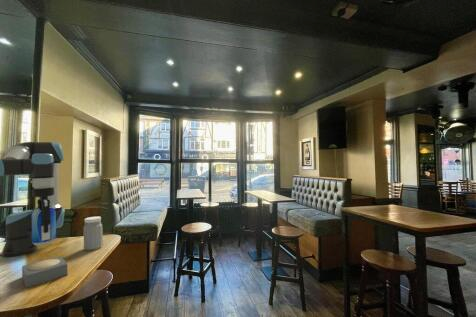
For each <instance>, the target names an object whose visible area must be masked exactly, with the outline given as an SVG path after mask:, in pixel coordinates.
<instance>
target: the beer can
mask: <svg viewBox="0 0 476 317" xmlns="http://www.w3.org/2000/svg"><path fill="white" fill-rule="evenodd" d="M31 220H32V243H33V244H34V245H38V246H44V245H48V244H52V243H54V241H55V240H56V238H57V228H56V211H55V210H54V208H53V206H50V222H51V223H50V239H48V240H43V241H42V231H41V226H40V224H42V213H41V210H40V209H39V208H38V207H35V208H33V212H32V214H31ZM45 222H47V221H45Z"/></svg>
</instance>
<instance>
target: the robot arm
mask: <svg viewBox="0 0 476 317" xmlns="http://www.w3.org/2000/svg"><path fill="white" fill-rule="evenodd" d="M63 161H65V159H64V154H63V148H62V144H61V143H60V142H51V141H50V142H49V141H48V142H47V141H45V142H44V141H43V142H42V141H26V142H20V143H17V144H14V145H12V146H10V147H9V148H8V149H7V150H6V152H5V155H4V156H3V157H2V158H0V177H4V176H26V175H27V176H28V175H31V176H32V179H31V181H30V183H31V184H32V190H31V194H32V197H33V198H39V199H37V208H39V209H40V210H41V213H42V224H40V226H41V231H42V241H43V240H48V239H50V223H51V222H50V206H53V208H54V210H55V211H56V229H60V228H61V227H62V226H63V225H64V220H65V211H66V209H65V208H63V205H61V204H60V201H59V200H60V196H59V194H60V193H59V190H60V189H59V188H60V187H59V166H60V165H61V164H62V162H63ZM33 211H34V209H29V210H21V211H18V212H14V213H10V214H8V215H7V216H6V218H5V239H6V240H5V243H4V246H3V248H2V250H1V257H3V258H11V257H18V256H23V255H26V254H30V253H33V252H35V251H37V250H38V249H39V245H34V244H33V243H32V220H31V214H32V212H33ZM45 221H47V222H45Z"/></svg>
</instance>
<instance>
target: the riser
mask: <svg viewBox="0 0 476 317" xmlns="http://www.w3.org/2000/svg"><path fill="white" fill-rule="evenodd" d="M21 267H22V269H21V272H22V281H23V284H24V287H25V289H27V288H30V287H34V286H36V285H41V284H43V283H47V282H50V281H53V280H55V279H60V278H62V277H65V276H68V263H67V261H66V260H65V259H64V258H63V257H62V255H59V256H56V257H52V258H48V259H45V260H40V261H35V262H32V263H29V264H26V265H25V264H24V265H22V266H21Z"/></svg>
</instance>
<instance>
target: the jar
mask: <svg viewBox="0 0 476 317" xmlns="http://www.w3.org/2000/svg"><path fill="white" fill-rule="evenodd" d="M101 220H102V217H101V216H98V215H97V216H89V217H86V218H84V225H83V227H82V229H83V249H84V250H85V251H87V250H88V251H90V250H91V251H96V250H99V249H101V248H103V247H102V246H103V245H104V237H103V236H104V234H103V230H104V228H103V224H102V221H101ZM88 251H87V252H88Z"/></svg>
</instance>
